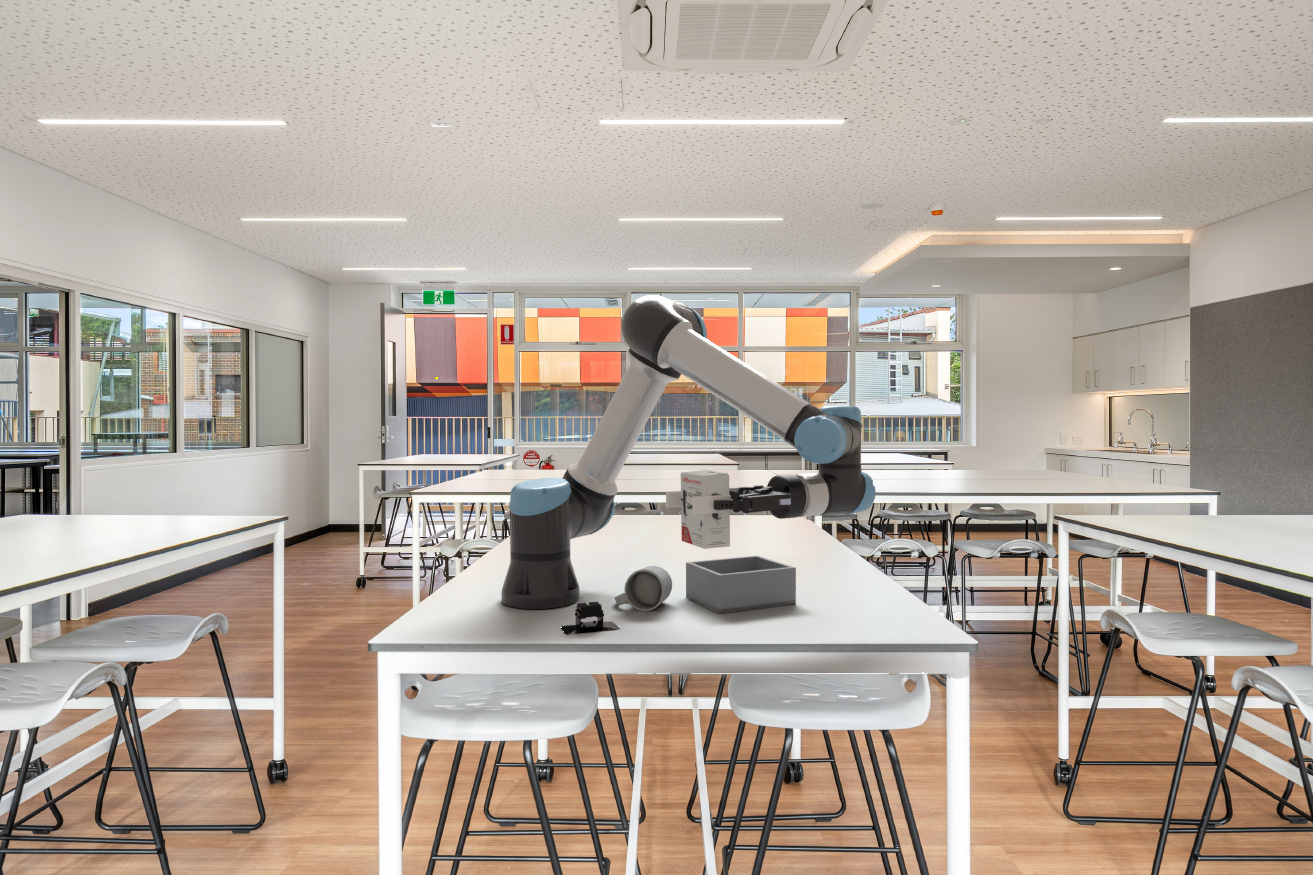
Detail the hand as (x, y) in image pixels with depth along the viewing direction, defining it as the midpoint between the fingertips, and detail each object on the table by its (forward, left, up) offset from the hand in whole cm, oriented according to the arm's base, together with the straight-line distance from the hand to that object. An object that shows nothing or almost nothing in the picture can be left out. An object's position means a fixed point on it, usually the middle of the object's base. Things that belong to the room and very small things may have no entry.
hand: (679, 502), depth 116 cm
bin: (-17, +21, -22) cm, 35 cm away
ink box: (0, +5, -7) cm, 9 cm away
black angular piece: (-12, -11, -23) cm, 28 cm away
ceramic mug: (-21, +3, -22) cm, 31 cm away
